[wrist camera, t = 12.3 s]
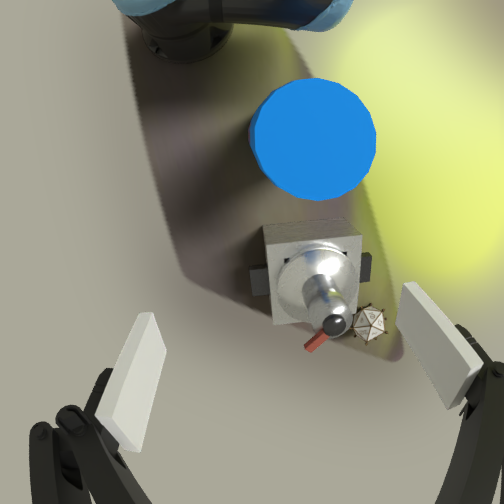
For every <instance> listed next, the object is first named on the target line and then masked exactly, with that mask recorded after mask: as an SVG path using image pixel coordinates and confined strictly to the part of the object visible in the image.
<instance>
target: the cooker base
mask: <svg viewBox="0 0 504 504" xmlns="http://www.w3.org/2000/svg"><path fill="white" fill-rule="evenodd" d="M262 226H263V236H264V246H265V257H266V264H262V265H253V266H249V272H250V280H251V288H252V296H260V295H269V299H270V306H271V313H272V320H273V325H279V324H288V323H296V322H302V321H299V320H296V319H294V318H292V317H290V316H289V315H288V314H287V313H286V312H285V311H284V310H283V309H282V307H281V305H280V303H279V300H278V295H277V290H276V281H277V276H278V273H279V271H280V269H281V267H282V266H283V264H284V263H285V262H286V261H287V260H288V259H289V258H290V257H291V256H292V255H294V254H295V253H297V252H298V251H300V250H302V249H305V248H308V247H312V246H329V247H333V248H336V249H338V250H340V251H341V252H342V253H344V254H345V255H346V256H347V257H348V259H349V260H350V261H351V263H352V264H353V265H354V267H355V269H356V272H357V275H358V287H357V291H356V294H355V296H354V298H353V300H352V302H351V303H350V304H349V306H348V307H349V309H350V311H351V313H352V314H356V310H357V300H358V290H359V283H362V282H368V281H370V273H371V261H372V256H371V254H370V253H369V252H366V253H361V250H362V234H361V233H360V232H359V231H358V230H357V229H356V228H355V227H354V226H353V225H351V224H350V223H349V222H348V221H347V220H346V219H345V218H344V217H343V218H332V219H321V220H310V221H300V222H290V223H280V224H270V225H262Z"/></svg>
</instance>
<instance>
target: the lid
mask: <svg viewBox="0 0 504 504" xmlns="http://www.w3.org/2000/svg"><path fill="white" fill-rule="evenodd" d="M357 287H358V275H357V272H356V269H355V267H354V265H353V264H352V263H351V261H350V260H349V259H348V257H347V256H346V255H345V254H344V253H342V252H341V251H340V250H338V249H336V248H333V247H329V246H312V247H308V248H305V249H302V250H300V251H298V252H297V253H295V254H294V255H292V256H291V257H290V258H289V259H288V260H287V261H286V262H285V263H284V264H283V266H282V267H281V269H280V271H279V273H278V276H277V281H276V290H277V295H278V300H279V303H280V305H281V307H282V309H283V310H284V311H285V312H286V313H287V314H288V315H289V316H290V317H292V318H294V319H296V320H299V321H302V322H308V323H311V324H312V327H313V330H314V332H315V334H316V335H315V336H313V337H312V338H311V339H310V340H309V341H308V342H307V343H306V344H304V347H305V349H306V350H307V351H309V352H312V351H314V350H315V349H316V348H317V347H318V346H320V345H321V344H322V343H323V342H324V341H325V340H327V339H331V338H336V337H338V336H340V335H342V334H344V333H345V332H346V331H347V330H348V329H349V328H350V326H351V324H352V321H353V315H352V313H351V311H350V309H349V307H348V306H349V304H350V303H351V302H352V300H353V298H354V296H355V294H356V291H357Z"/></svg>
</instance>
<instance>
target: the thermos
mask: <svg viewBox="0 0 504 504" xmlns="http://www.w3.org/2000/svg"><path fill="white" fill-rule="evenodd" d="M248 142H249V144H250V146H251V149H252V151H253V154H254V156H255V158H256V161H257V163H258V165H259V168H260V170H261V171H262V172H263V173H264V174H265V175H266V176H267V177H268V178H269V179H270V181H271V182H272V183H273V184H274V185H275V186H277V187H279V188H281V189H283V190H285V191H286V192H288V193H290V194H292V195H294V196H296V197H297V198H304V199H310V200H316V201H320V200H326V199H331V198H337V197H339V196H341V195H343V194H345V193H346V192H348V191H350V190H352V189H353V188H355V187H356V186H357V185H358V184H359V183H360V181H361V180H362V179H363V178H364V177H365V175H366V174H367V173H368V172H369V169H370V167H371V164H372V161H373V159H374V156H375V153H376V131H375V128H374V125H373V121H372V118H371V115H370V112H369V111H368V110H367V108H366V107H365V106H364V104H363V103H362V102H361V100H360V99H359V98H358V96H357V95H355V94H354V93H352V92H351V91H350V90H348V89H347V88H345V87H344V86H342V85H340V84H339V83H335V82H332V81H328V80H324V79H320V78H312V79H302V80H295V81H291V82H289V83H287V84H285V85H283V86H281V87H279V88H278V89H276V90H274V91H272V92H271V93H270V95H269V96H268V97H267V98H266V99H265V100H264V101H263V103H262V104H261V105H260V106H259V107H258V109H257V110H256V112H255V114H254V115H253V117H252V119H251V122H250V125H249V128H248Z"/></svg>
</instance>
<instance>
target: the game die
mask: <svg viewBox="0 0 504 504" xmlns="http://www.w3.org/2000/svg"><path fill="white" fill-rule="evenodd" d="M360 308H361V310H360V311H359V312H358V313H356V314H355V315H353V314H352V315H353V327H350V330H351V329H353V330H354V332H355V334H356V335H354V337H356V336H358V337H360V338H361V339H363V340H364V341H366V343H365V345H366V346H367V345H368V341H370V340H372V339H375V340H377V336H379V335H381V334H383V333H384V332H385V333H386V334H388V331H385V321H384V320H386V319H387V318H384V316H383V312H384V311H385V309H383V310H382V311H381V310H378V309H376V308H374V307H372V303H370V306H369V307H366V308H363V306H361V307H360Z"/></svg>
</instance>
